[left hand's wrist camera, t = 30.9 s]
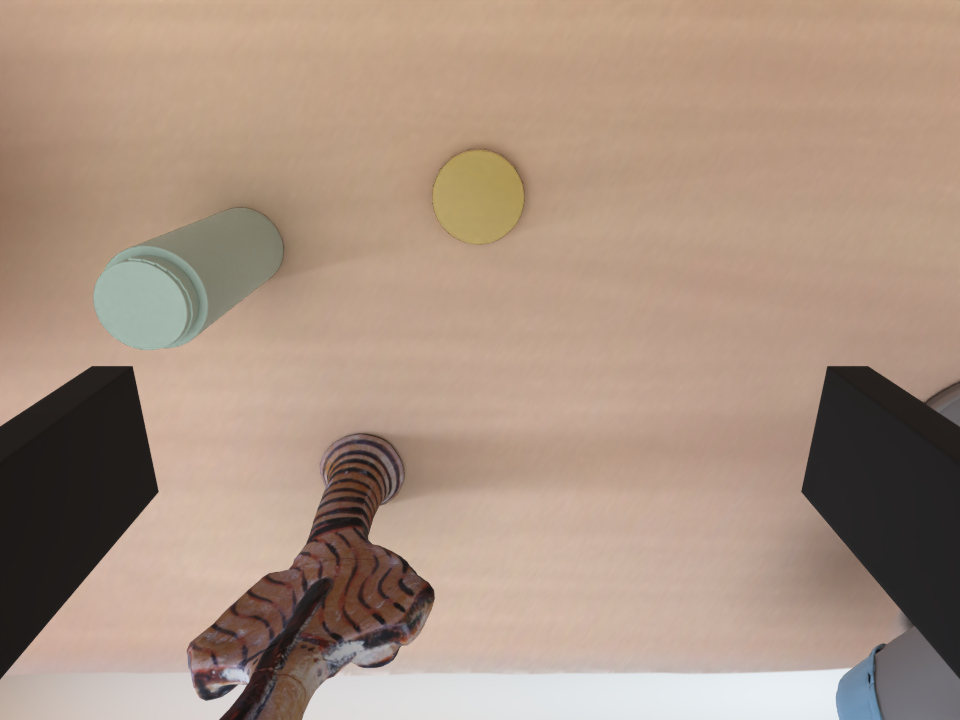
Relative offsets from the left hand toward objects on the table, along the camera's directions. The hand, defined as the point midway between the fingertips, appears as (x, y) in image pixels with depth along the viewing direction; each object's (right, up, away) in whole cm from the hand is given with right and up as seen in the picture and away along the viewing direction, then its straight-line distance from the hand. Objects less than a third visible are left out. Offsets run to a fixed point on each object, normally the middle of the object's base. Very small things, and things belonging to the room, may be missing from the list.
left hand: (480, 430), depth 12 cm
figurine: (-10, -7, +41) cm, 43 cm away
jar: (-17, +10, +35) cm, 40 cm away
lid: (0, +13, +32) cm, 34 cm away
